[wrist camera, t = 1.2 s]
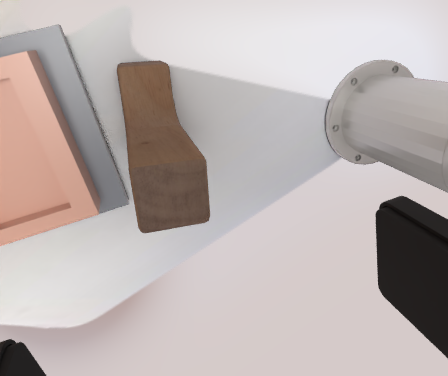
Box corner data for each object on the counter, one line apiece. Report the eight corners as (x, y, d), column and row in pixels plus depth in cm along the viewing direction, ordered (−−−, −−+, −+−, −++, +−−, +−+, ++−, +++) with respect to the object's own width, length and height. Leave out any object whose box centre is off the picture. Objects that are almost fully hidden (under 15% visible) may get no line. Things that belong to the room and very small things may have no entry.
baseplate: (60, 25, 31) (50, 22, 26) (128, 198, 39) (129, 218, 34) (-137, 71, 28) (-184, 76, 24) (-22, 246, 36) (-41, 275, 32)
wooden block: (116, 63, 33) (113, 82, 17) (163, 60, 34) (201, 75, 18) (130, 152, 37) (139, 236, 21) (172, 147, 38) (212, 224, 22)
